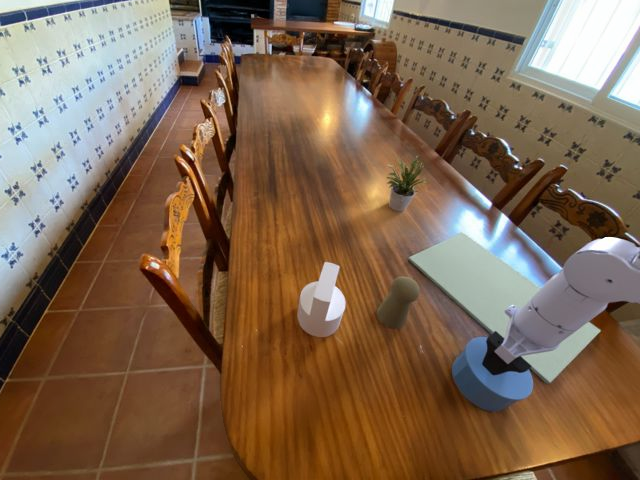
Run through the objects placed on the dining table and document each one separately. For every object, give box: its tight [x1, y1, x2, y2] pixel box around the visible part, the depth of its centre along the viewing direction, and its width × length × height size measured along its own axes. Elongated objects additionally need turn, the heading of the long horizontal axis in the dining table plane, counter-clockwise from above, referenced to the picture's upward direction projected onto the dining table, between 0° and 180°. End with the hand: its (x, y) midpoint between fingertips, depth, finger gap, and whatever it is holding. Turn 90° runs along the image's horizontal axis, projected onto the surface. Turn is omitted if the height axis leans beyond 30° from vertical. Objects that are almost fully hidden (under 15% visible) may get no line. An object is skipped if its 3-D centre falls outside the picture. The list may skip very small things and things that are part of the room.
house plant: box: [385, 153, 431, 212], centre depth 90 cm, size 14×14×16 cm
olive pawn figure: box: [376, 275, 420, 330], centre depth 60 cm, size 6×6×11 cm
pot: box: [451, 348, 518, 413], centre depth 52 cm, size 10×10×6 cm
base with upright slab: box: [296, 261, 347, 338], centre depth 58 cm, size 9×9×12 cm
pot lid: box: [464, 336, 534, 402], centre depth 49 cm, size 10×10×5 cm
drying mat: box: [407, 231, 602, 385], centre depth 70 cm, size 34×22×1 cm, turn 30°
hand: (502, 357), depth 49 cm, fingers open, 7 cm apart
